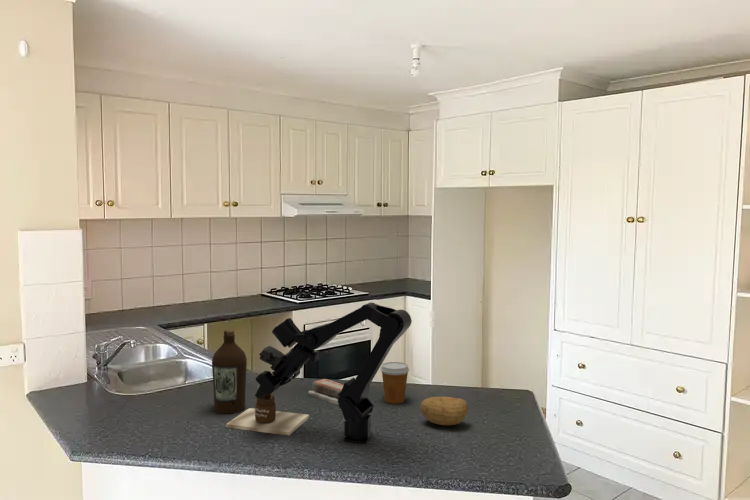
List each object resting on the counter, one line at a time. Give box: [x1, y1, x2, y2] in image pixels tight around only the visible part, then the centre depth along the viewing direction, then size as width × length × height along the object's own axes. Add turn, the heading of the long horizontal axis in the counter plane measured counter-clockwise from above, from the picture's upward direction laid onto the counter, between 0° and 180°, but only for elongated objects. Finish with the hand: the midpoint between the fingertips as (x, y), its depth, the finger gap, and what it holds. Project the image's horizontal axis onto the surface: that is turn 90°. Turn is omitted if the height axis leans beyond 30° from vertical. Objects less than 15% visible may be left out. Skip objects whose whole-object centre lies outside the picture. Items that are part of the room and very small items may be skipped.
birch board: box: [225, 407, 310, 436], centre depth 167 cm, size 20×14×1 cm
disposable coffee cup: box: [380, 361, 410, 405], centre depth 187 cm, size 10×10×12 cm
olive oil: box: [211, 329, 248, 415], centre depth 177 cm, size 11×11×25 cm
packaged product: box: [307, 378, 344, 406], centre depth 190 cm, size 18×5×10 cm
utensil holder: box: [254, 382, 277, 423], centre depth 165 cm, size 6×6×12 cm
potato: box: [420, 396, 469, 427], centre depth 166 cm, size 10×14×8 cm
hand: (261, 393), depth 166 cm, fingers open, 6 cm apart
